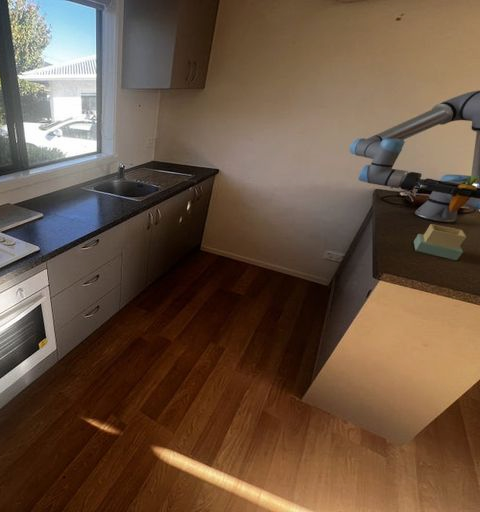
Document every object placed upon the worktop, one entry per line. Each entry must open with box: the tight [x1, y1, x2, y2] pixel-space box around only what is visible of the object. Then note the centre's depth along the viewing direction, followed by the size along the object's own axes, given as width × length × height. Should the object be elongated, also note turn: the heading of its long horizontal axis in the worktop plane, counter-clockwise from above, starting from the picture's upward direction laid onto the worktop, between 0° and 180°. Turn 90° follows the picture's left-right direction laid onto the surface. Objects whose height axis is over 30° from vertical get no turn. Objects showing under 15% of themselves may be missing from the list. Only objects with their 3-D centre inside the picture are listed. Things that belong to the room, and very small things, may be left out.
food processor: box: [413, 223, 467, 261], centre depth 120 cm, size 13×12×10 cm
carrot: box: [449, 175, 479, 213], centre depth 114 cm, size 5×5×15 cm
